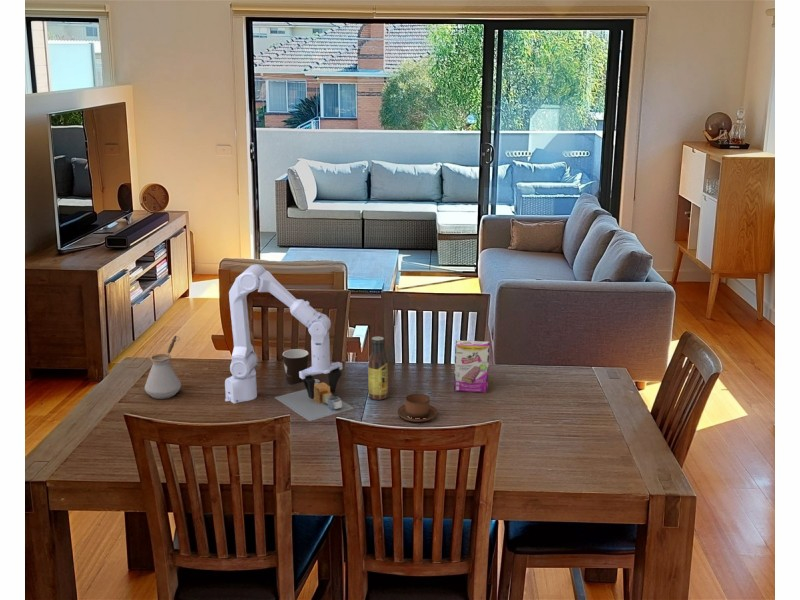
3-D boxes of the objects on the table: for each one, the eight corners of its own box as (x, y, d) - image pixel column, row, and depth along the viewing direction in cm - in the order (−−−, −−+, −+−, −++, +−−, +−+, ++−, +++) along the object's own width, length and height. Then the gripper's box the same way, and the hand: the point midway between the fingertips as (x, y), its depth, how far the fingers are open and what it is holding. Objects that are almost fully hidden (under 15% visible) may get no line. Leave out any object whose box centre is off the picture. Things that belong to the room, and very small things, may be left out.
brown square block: (312, 399, 276) (312, 385, 275) (323, 396, 279) (323, 382, 277) (319, 403, 273) (319, 389, 272) (330, 400, 276) (330, 386, 274)
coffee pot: (174, 402, 278) (171, 357, 274) (139, 400, 280) (135, 356, 275) (196, 377, 299) (193, 335, 294) (163, 375, 300) (159, 334, 296)
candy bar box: (453, 392, 286) (454, 344, 282) (454, 386, 291) (455, 339, 286) (488, 393, 285) (489, 346, 281) (488, 387, 290) (489, 340, 285)
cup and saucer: (392, 412, 272) (392, 393, 270) (428, 406, 276) (428, 388, 274) (406, 427, 261) (406, 408, 259) (443, 421, 265) (443, 402, 263)
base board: (309, 425, 262) (309, 421, 261) (274, 401, 279) (274, 397, 278) (354, 412, 271) (354, 408, 270) (317, 390, 288) (317, 386, 287)
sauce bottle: (385, 401, 279) (385, 342, 273) (366, 400, 280) (365, 341, 274) (389, 393, 285) (389, 335, 279) (371, 392, 286) (370, 334, 281)
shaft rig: (334, 412, 267) (334, 401, 266) (301, 391, 283) (300, 381, 282) (349, 408, 270) (349, 397, 269) (316, 387, 286) (316, 377, 285)
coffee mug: (307, 386, 291) (306, 358, 288) (281, 386, 291) (280, 357, 288) (311, 373, 302) (311, 346, 299) (286, 373, 302) (285, 345, 299)
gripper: (306, 362, 264) (308, 404, 268) (347, 353, 272) (348, 393, 276) (295, 356, 270) (296, 397, 274) (335, 346, 278) (336, 386, 282)
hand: (321, 394), depth 275 cm, fingers open, 7 cm apart
